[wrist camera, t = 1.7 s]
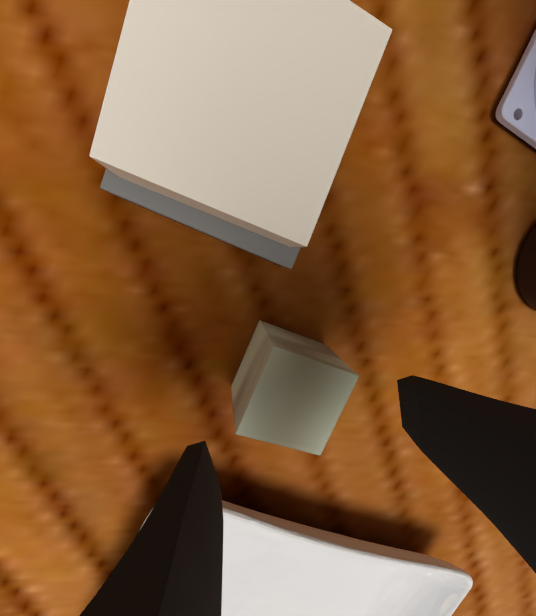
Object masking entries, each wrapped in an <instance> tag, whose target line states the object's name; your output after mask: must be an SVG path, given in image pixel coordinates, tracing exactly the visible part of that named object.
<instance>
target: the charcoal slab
mask: <svg viewBox="0 0 536 616" xmlns="http://www.w3.org/2000/svg"><path fill="white" fill-rule="evenodd" d="M100 188H101V189H103V190H105V191H107V192H109V193H111V194H113V195H115V196H117V197H120V198H122V199H124V200H127V201H129V202H131V203H134V204H136V205H138V206H141V207H143V208H145V209H148V210H150V211H153V212H155V213H157V214H160V215H162V216H164V217H167V218H169V219H171V220H174V221H176V222H178V223H181V224H183V225H185V226H188V227H190V228H193V229H195V230H197V231H200V232H202V233H204V234H207V235H209V236H211V237H214V238H216V239H218V240H221V241H223V242H225V243H228V244H230V245H232V246H235V247H237V248H240V249H242V250H244V251H247V252H249V253H251V254H254V255H256V256H258V257H261V258H263V259H265V260H268V261H270V262H272V263H275V264H277V265H280V266H282V267H285V268H288V269H292V267H293V265H294V262H295V260H296V257H297V255H298V253H299V250H300V248H301V247H288V246H286V245H283V244H281V243H279V242H276V241H274V240H271V239H269V238H266V237H264V236H262V235H259V234H257V233H254V232H252V231H249V230H247V229H244V228H242V227H240V226H237V225H235V224H232V223H230V222H227V221H225V220H222V219H220V218H218V217H215V216H213V215H210V214H208V213H205V212H203V211H201V210H198V209H196V208H193V207H191V206H188V205H186V204H183V203H181V202H179V201H176V200H174V199H171V198H169V197H166V196H164V195H162V194H159V193H157V192H154V191H152V190H149V189H147V188H145V187H142V186H140V185H137V184H135V183H132V182H130V181H127V180H125V179H123V178H120V177H119V176H117V175H116V174H114V173H113V172H111V171H110V170H108V169H107V168H106V170H105V174H104V177H103V180H102V183H101V187H100Z"/></svg>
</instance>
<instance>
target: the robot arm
mask: <svg viewBox="0 0 536 616" xmlns="http://www.w3.org/2000/svg"><path fill="white" fill-rule="evenodd" d="M496 119H497V120H498V121H499V123H501V124H502V125H504V126H505V127H506V128H508V129H509V130H510V131H512V132H513V133H515V134H516V135H517V136H519V137H520V138H521V139H523V140H524V141H525V142H527V143H528V144H530V145H531V146H532V147H534V148H535V149H536V30H535V32H534V34H533V36H532V38H531V40H530V42H529V44H528V46H527V48H526V50H525V52H524V54H523V56H522V58H521V60H520V62H519V64H518V66H517V68H516V70H515V72H514V74H513V76H512V78H511V80H510V82H509V85H508V87H507V89H506V91H505V93H504V95H503V97H502V99H501V101H500V103H499V105H498V107H497V110H496ZM397 383H398V392H399V401H400V409H401V418H402V427H403V428H404V429H405V431H406V432H407V433H408V435H409V436H410V437H411V438H412V440H413V441H414V442H415V443H416V445H417V446H418V447H419V448H420V450H421V451H422V452H423V453H424V454H425V455H426V456H427V457H428V458H429V459H430V460H431V461H432V462H433V463H434V464H435V465H436V466H437V467H438V468H439V469H440V470H441V471H442V472H443V473H444V474H445V475H446V476H447V477H448V478H449V479H450V480H451V481H452V482H453V483H454V484H455V485H456V486H457V487H458V488H459V489H460V490H461V491H462V492H463V493H464V494H465V495H466V496H467V497H468V498H469V499H470V500H471V501H472V502H473V503H474V504H475V505H476V506H477V507H478V508H479V509H480V510H481V511H482V512H483V513H484V514H485V515H486V517H487V518H488V519H489V520H490V521H491V522H492V523H493V524H494V525H495V526H496V527H497V528H498V530H499V531H500V532H501V533H502V534H503V535H504V537H505V538H506V539H507V540H508V541H509V542H510V544H511V545H512V546H513V547H514V548H515V549H516V550H517V552H518V553H519V554H520V555H521V556H522V557H523V559H524V560H525V561H526V562H527V563H528V565H529V566H530V567H531V568H532V569H533V571H534V572H535V573H536V409H532V408H528V407H524V406H520V405H516V404H512V403H508V402H504V401H500V400H496V399H493V398H489V397H486V396H482V395H479V394H475V393H472V392H468V391H465V390H462V389H458V388H455V387H452V386H448V385H445V384H442V383H438V382H435V381H432V380H428V379H425V378H421V377H417V376H409V377H406V378H402V379H399V380H397ZM223 522H224V521H223V507H222V495H221V487H220V484H219V481H218V478H217V475H216V472H215V469H214V466H213V463H212V460H211V457H210V454H209V451H208V448H207V445H206V442H205V441H202V442H199V443H196V444H193V445H190V446H187V448H186V449H185V451H184V453H183V455H182V456H181V458H180V460H179V462H178V464H177V466H176V468H175V470H174V472H173V474H172V475H171V477H170V479H169V481H168V483H167V485H166V486H165V488H164V490H163V492H162V494H161V495H160V497H159V499H158V501H157V502H156V504H155V506H154V508H153V509H152V511H151V513H150V514H149V516H148V518H147V519H146V521H145V523H144V524H143V526H142V527H141V529H140V531H139V532H138V534H137V536H136V537H135V539H134V540H133V542H132V544H131V545H130V547H129V548H128V550H127V551H126V553H125V554H124V556H123V557H122V559H121V560H120V562H119V563H118V565H117V566H116V567H115V569H114V570H113V572H112V573H111V574H110V576H109V577H108V579H107V580H106V581H105V583H104V584H103V586H102V587H101V588H100V590H99V591H98V592H97V594H96V595H95V596H94V598H93V599H92V600H91V602H90V603H89V604H88V605H87V607H86V608H85V609H84V611H83V612H82V613H81V614H80V616H221V608H222V569H223Z"/></svg>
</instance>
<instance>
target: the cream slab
mask: <svg viewBox="0 0 536 616" xmlns="http://www.w3.org/2000/svg"><path fill="white" fill-rule="evenodd" d="M391 32H392V29H391V28H389V27H388V26H387V25H385V24H384V23H382V22H381V21H379V20H378V19H376V18H375V17H373V16H372V15H370V14H369V13H367V12H366V11H365V10H363V9H362V8H360V7H359V6H357V5H356V4H354V3H353V2H351V1H350V0H130V1H129V5H128V9H127V13H126V17H125V21H124V24H123V28H122V32H121V36H120V40H119V44H118V47H117V51H116V55H115V59H114V63H113V67H112V71H111V74H110V78H109V82H108V86H107V90H106V94H105V97H104V101H103V105H102V109H101V113H100V117H99V120H98V124H97V128H96V132H95V136H94V140H93V143H92V147H91V151H90V155H89V156H90V157H91V158H93V159H94V160H96V161H97V162H98V163H100V164H101V165H103V166H104V167H106V168H107V169H108V170H110V171H111V172H113V173H114V174H116V175H117V176H119V177H120V178H123V179H125V180H127V181H130V182H132V183H135V184H137V185H140V186H142V187H145V188H147V189H149V190H152V191H154V192H157V193H159V194H162V195H164V196H166V197H169V198H171V199H174V200H176V201H179V202H181V203H183V204H186V205H188V206H191V207H193V208H196V209H198V210H201V211H203V212H205V213H208V214H210V215H213V216H215V217H218V218H220V219H222V220H225V221H227V222H230V223H232V224H235V225H237V226H240V227H242V228H244V229H247V230H249V231H252V232H254V233H257V234H259V235H262V236H264V237H266V238H269V239H271V240H274V241H276V242H279V243H281V244H283V245H286V246H288V247H307V246H308V243H309V241H310V238H311V235H312V233H313V230H314V228H315V225H316V223H317V220H318V218H319V215H320V213H321V210H322V207H323V205H324V202H325V200H326V197H327V195H328V192H329V190H330V187H331V185H332V182H333V179H334V177H335V174H336V172H337V169H338V167H339V164H340V162H341V159H342V157H343V154H344V152H345V149H346V146H347V144H348V141H349V139H350V136H351V134H352V131H353V129H354V126H355V124H356V121H357V118H358V116H359V113H360V111H361V108H362V106H363V103H364V101H365V98H366V96H367V93H368V90H369V88H370V85H371V83H372V80H373V78H374V75H375V73H376V70H377V68H378V65H379V63H380V60H381V57H382V55H383V52H384V50H385V47H386V45H387V42H388V40H389V37H390V35H391Z"/></svg>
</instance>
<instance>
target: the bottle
mask: <svg viewBox="0 0 536 616" xmlns="http://www.w3.org/2000/svg"><path fill="white" fill-rule="evenodd" d="M517 280H518V285H519V290H520V293H521V295H522V296H523V298H524V299H525V301H526V303H527V304H528V305H529V306H530V307H532V308H533V309H535V310H536V225H535V227H534V228H533V229H532V231H531V233H530V234H529V236H528V237H527V239H526V241H525V242H524V244H523V247H522V250H521V253H520V256H519V259H518V267H517Z"/></svg>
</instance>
